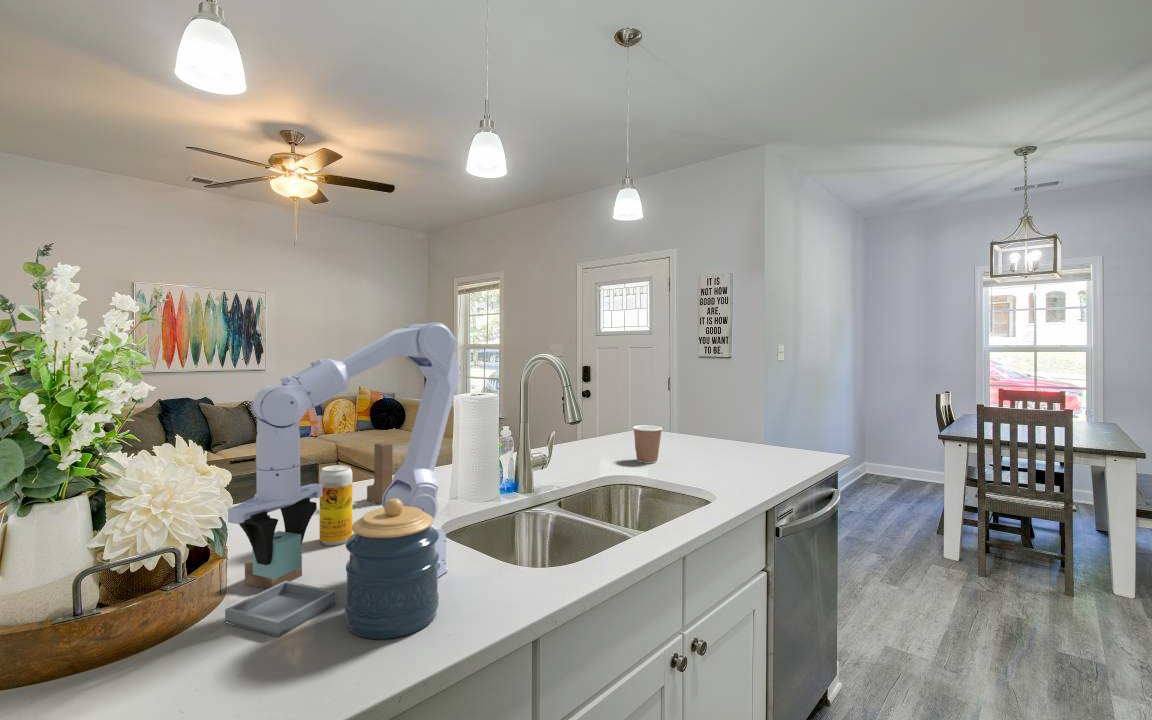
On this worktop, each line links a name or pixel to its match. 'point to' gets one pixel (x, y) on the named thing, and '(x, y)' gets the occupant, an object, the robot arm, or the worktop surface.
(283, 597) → the tray
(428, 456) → the robot arm
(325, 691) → the worktop surface
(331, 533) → the beer can
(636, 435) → the coffee cup
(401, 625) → the canister
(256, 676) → the worktop surface
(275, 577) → the teal block
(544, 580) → the worktop surface
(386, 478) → the wooden block
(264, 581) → the brown wooden square frame
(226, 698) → the worktop surface
